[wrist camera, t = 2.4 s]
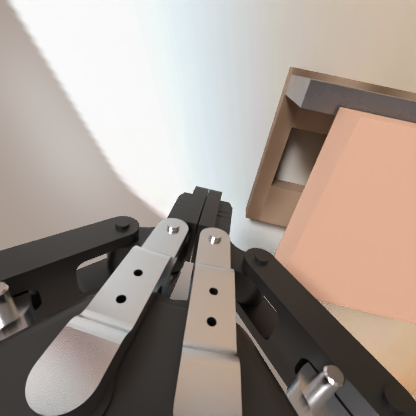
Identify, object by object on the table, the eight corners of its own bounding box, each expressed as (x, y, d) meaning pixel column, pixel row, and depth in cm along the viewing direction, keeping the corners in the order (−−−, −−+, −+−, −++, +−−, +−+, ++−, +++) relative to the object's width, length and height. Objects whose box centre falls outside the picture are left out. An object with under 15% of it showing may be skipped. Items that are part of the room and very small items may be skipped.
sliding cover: (559, 154, 13) (632, 176, 11) (419, 296, 20) (444, 331, 17) (339, 106, 14) (360, 116, 11) (272, 260, 20) (275, 289, 17)
